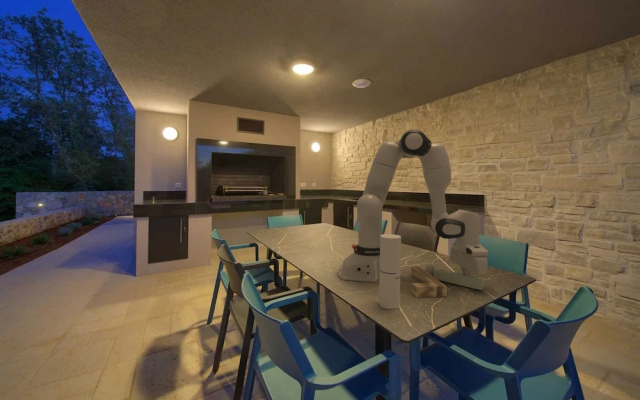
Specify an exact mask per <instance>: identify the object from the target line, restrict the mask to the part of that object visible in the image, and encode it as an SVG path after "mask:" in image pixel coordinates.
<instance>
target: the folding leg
mask: <svg viewBox="0 0 640 400" xmlns="http://www.w3.org/2000/svg"><path fill="white" fill-rule="evenodd" d="M425 271H426V272H428V273H429V274H430V275H432V276H433V277H434V278H436V279H437V280H439V281H440V282H445V283H450V284H452V285H458V286H461V287H467V288H471V289H475V290H479V291H483V289H484V284H485V283H484V282H485V281H484V280H485V279H484V278H483V277H479V276H475V275H471V274H470V275H466V274H463V273H459V272H455V271H451V270H446V269H441V268H436V267H435V266H434V265H431V264H430V265H429V264H427V265H425Z"/></svg>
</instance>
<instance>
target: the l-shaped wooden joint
mask: <svg viewBox="0 0 640 400" xmlns="http://www.w3.org/2000/svg"><path fill="white" fill-rule="evenodd" d="M410 269H411V272H410V273H411V274H410V275H411V276H412V277H413V278H414V279H416V281H418V282H412V283H411V294H412V295H413V296H414V297H415V298H447V295H448V293H447V292H448V287H447V285H445V283H442V281H441V280H437V279H436V278H434V277H433V276H432V275H430V274H429V273H428V272H426V269H424V268H423V267H421V266H416V265H415V266H414V265H413V266H411V268H410Z"/></svg>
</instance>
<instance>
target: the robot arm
mask: <svg viewBox="0 0 640 400" xmlns="http://www.w3.org/2000/svg"><path fill="white" fill-rule="evenodd" d="M402 158H403V159H404V158H406V159H407V158H408V159H410V158H418V159H419V160H420V162H421V168H422V174H423V178H424V182H425V185H426V187H427V191H428V193H429V199H430V206H431V215H430V219H429V228H430V230H431V231H432V232H433V233H435V234H436V235H437V236H438V237H440V238H442V239H444V240H445V239H446V240H449V239H455V241H454V242H453V243H452V246H451V248H450V253H449V259H450V261H451V262H453V263H454V264H456V265H458V266H459V267H460V269H461V272H462V274H466V275H470V276H471V275H472V273H473V274H476V275H477V276H485V275H486V274H487V273H488V268H489V267H488V265H489V263H488V257H487V256H489V251H488V249H486V248H485V247H484V246H483V245H482V244H481V242H480V236H479V235H480V231H481V218H480V214H479V213H478V212H477V211H475V210H472V209H467V208H459V209H458V210H457V211H455V212H453V213H452V212H451V213H450V214H448V211H447V205H446V203H447V201H446V197H445V196H446V191H447V189H448V187H449V185H450V183H452V168H451V162H450V158H449V155H448V152H447V150H446V147H445V145H444V144H442V143H440V142H432V141H431V139H429V138H428V137H427V135H426V134H425V133H424V132H423V131H421V130H420V129H409V130H406V132H404V133H403V134H402V136H401V137H400V139H399V140H398V141H392V140H391V141H390V140H386V141H383V142H382V143H381V145H380V146H379V147H378V150H377V152H376V153H375V156H374V158H373V160H372V164H371V166H370V169H369V173H368V174H367V178H366V183H365V187H364V189H363V193H362V196H360V198H359V199H358V200H357V203H356V213H357V226H358V227H357V228H358V229H357V231H358V232H357V233H358V234H357V237H358V238H357V239H358V240H357V242H358V244H357V245H356V244H355V243H353V244H351V248H352V249H353V253H351V254H350V255H349V256H347V257H345V258H344V259H343V262H342V265H341V267H339V268H338V269H337V272H336V275H337V276H338V278H339V279H340V280H344V281H354V282H355V281H356V282H371V283H373V282H374V283H376V282H378V281H380V235H383V208H384V205H385V202H386V198H387V196H388V192H389V190H390V188H391V185H392V183H393V179H394V176H395V175H396V170H397V169H398V166H399V163H400V161H401V159H402Z"/></svg>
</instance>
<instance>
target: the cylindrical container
mask: <svg viewBox="0 0 640 400" xmlns="http://www.w3.org/2000/svg"><path fill="white" fill-rule="evenodd" d="M401 248H402V236H401V235H398V234H393V233H386V234H384V233H382V235H380V279H379V280H378V281H379V288H378V289H379V291H378V298H379V299H378V305H379V304H380V305H379V306H380V307H382V308H383V309H387V310H397V309H398V308H400V302H401V301H400V300H401V263H402V262H401V261H402V260H401V258H402V257H401V255H402V251H401V250H402V249H401Z"/></svg>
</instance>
